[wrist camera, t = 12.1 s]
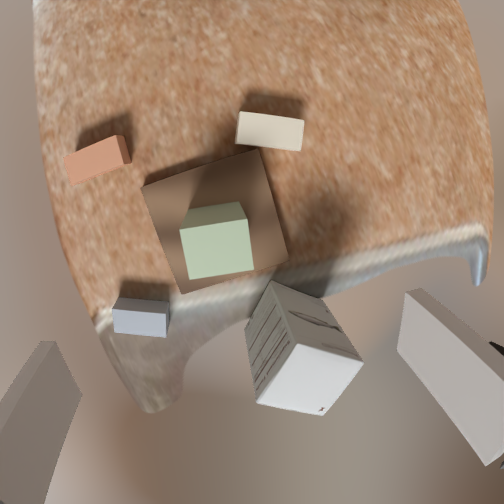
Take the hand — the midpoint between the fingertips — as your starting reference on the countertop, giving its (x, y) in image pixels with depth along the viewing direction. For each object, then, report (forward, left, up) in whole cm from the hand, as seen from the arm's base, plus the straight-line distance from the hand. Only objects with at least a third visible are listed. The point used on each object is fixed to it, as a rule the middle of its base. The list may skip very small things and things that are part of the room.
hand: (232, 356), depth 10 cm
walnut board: (+1, 0, -23) cm, 23 cm away
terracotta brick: (-8, -11, -23) cm, 27 cm away
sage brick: (+1, 0, -22) cm, 21 cm away
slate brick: (+10, -10, -23) cm, 27 cm away
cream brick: (-8, +6, -23) cm, 25 cm away
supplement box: (+13, +6, -23) cm, 27 cm away
